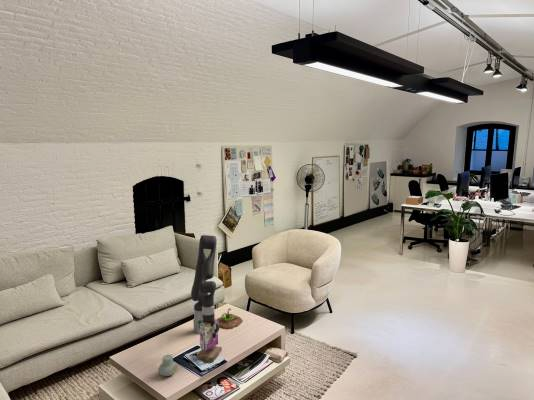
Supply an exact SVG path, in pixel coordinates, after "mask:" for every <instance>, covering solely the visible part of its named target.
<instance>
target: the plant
mask: <svg viewBox="0 0 534 400" xmlns="http://www.w3.org/2000/svg"><path fill="white" fill-rule="evenodd" d="M231 310H232V308H230V307H229V308H228V309H227V313H225V312H224V313H222V315H221V316H220V317H217V318H216V320H218V322H219V328H221V329H224V330H233V329H234V328H238V327H239V326H240V325H241V324H242V323H243V318H241V317H240V316H238V315H235V314H234V313H229V312H230V311H231Z"/></svg>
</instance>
